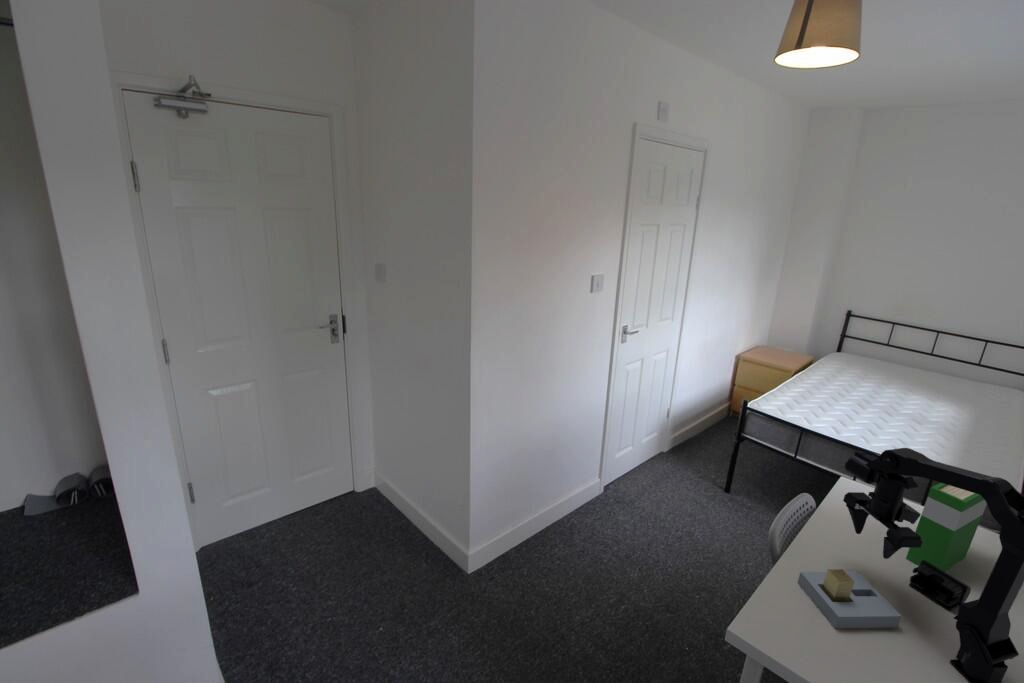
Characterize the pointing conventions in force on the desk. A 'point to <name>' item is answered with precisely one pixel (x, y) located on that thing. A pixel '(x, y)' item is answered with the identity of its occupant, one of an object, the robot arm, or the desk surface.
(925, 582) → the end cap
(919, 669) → the desk surface
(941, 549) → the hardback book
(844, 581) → the brass square bit
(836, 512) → the desk surface
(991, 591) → the robot arm
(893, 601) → the desk surface
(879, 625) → the slate bore board
